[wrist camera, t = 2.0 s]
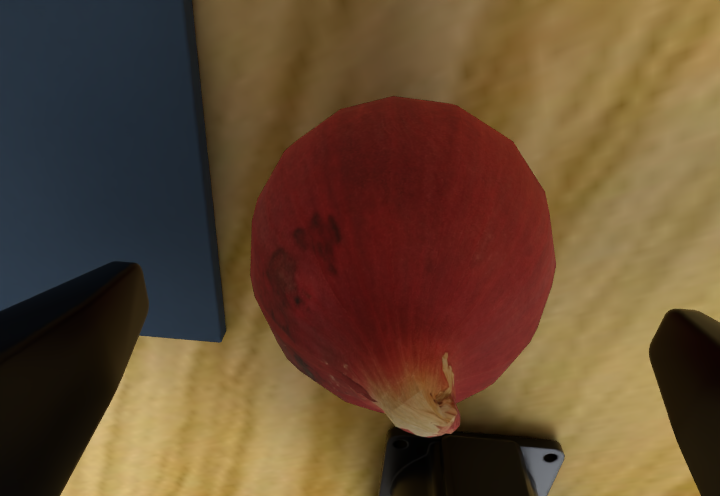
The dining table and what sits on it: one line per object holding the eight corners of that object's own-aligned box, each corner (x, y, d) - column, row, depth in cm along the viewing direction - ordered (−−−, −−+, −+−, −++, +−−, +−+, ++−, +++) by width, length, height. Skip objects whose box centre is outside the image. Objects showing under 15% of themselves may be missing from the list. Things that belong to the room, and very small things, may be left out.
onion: (327, 284, 15) (275, 566, 8) (253, 102, 12) (75, 298, 5) (521, 242, 14) (652, 529, 7) (488, 29, 11) (654, 159, 4)
